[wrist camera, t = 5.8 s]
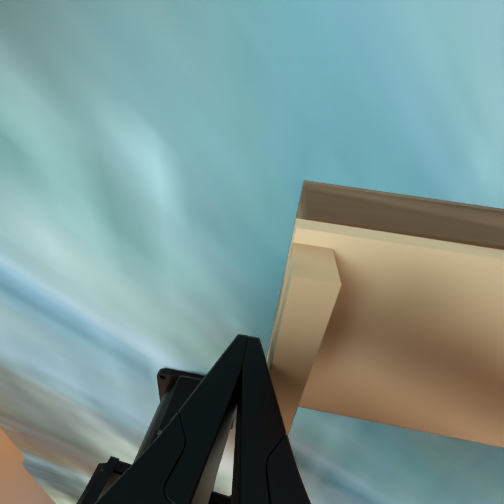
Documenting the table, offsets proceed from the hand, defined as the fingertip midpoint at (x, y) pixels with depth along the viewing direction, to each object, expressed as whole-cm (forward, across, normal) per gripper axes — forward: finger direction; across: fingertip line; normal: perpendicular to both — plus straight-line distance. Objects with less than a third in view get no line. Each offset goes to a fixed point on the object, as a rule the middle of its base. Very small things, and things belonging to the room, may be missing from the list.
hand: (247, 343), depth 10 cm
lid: (+1, -6, 0) cm, 7 cm away
